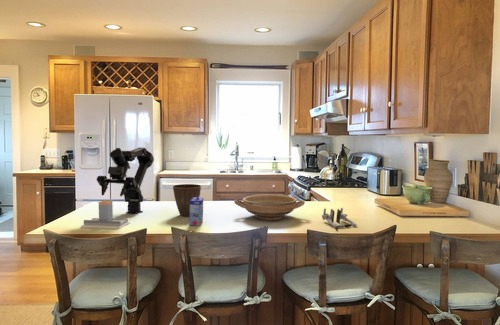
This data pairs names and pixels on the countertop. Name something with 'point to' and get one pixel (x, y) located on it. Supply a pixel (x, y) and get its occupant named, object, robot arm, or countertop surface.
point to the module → (105, 211)
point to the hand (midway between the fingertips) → (111, 195)
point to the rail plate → (105, 223)
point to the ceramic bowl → (269, 205)
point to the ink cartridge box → (196, 211)
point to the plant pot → (185, 196)
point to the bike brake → (339, 216)
